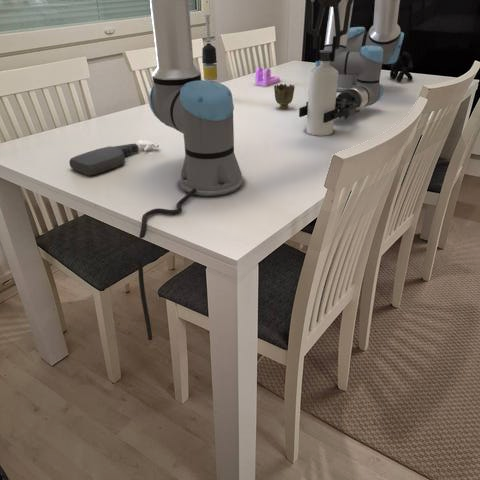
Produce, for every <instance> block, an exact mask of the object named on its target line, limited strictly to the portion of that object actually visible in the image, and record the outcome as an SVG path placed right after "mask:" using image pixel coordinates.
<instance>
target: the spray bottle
mask: <svg viewBox="0 0 480 480" xmlns="http://www.w3.org/2000/svg"><path fill="white" fill-rule="evenodd" d="M159 148H160V145H159V144H158V143H155V142H151V141H148V140H144V139H139V140H138V141H137V142H135V143H129V144H128V143H126V144H122V145H113V146H105V147H100V148H97V149H94V150H90V151H87V152H83V153H81V154H78V155H74V156H73V157H70V159H69V161H68V162H69V167H70V168H71V169H72V170H74V171H75V172H78V173H81V174H83V175H85V176H89V177H90V176H91V177H92V176H95V175H99V174H102V173H105V172H107V171H110V170H113V169H116V168H118V167H120V166H122V165H123V164H124V163H125V158H126V156H127V155H131V154H133V153H138V151H140V150H143V151H144V152H146V151H147V150H149V149H159Z"/></svg>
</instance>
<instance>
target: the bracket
mask: <svg viewBox="0 0 480 480" xmlns="http://www.w3.org/2000/svg"><path fill="white" fill-rule="evenodd" d="M254 75H255V76H254V77H255V78H254V80H255V86H262V87H268V86H270V85H273V84H276V83H279V82H280V76H273V75H272V72H271V69H270V68H268V67H266V68H264V69H263V67H259V66H258V67H256V68H255V74H254Z"/></svg>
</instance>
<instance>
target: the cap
mask: <svg viewBox="0 0 480 480" xmlns="http://www.w3.org/2000/svg"><path fill="white" fill-rule="evenodd" d="M331 55H332V51H319V61H331Z"/></svg>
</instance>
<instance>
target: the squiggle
mask: <svg viewBox="0 0 480 480" xmlns="http://www.w3.org/2000/svg"><path fill="white" fill-rule="evenodd" d="M401 57H402V59H401ZM406 62H407V65H408V66H407V67H405V66H404V65H405V64H406ZM386 65H387V67H390V68H391V70H390V72H389V78H390V79H391V80H395V79H396V81H397V82H399V83H400V82H402V81H403V79H404V76H406V78H407V80H408V81H412V80H413V79H414V77H413V75H412V74H411V73H410V72H409V71H410V70H412V69H413V68H414V64H413V61H412V57H411V54H410V53H409V52H408V51H403V53H402V54H401V55H399V56H398V59H397V61H396V62H395V63H393V64H386ZM400 70H401V71H400Z"/></svg>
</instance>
